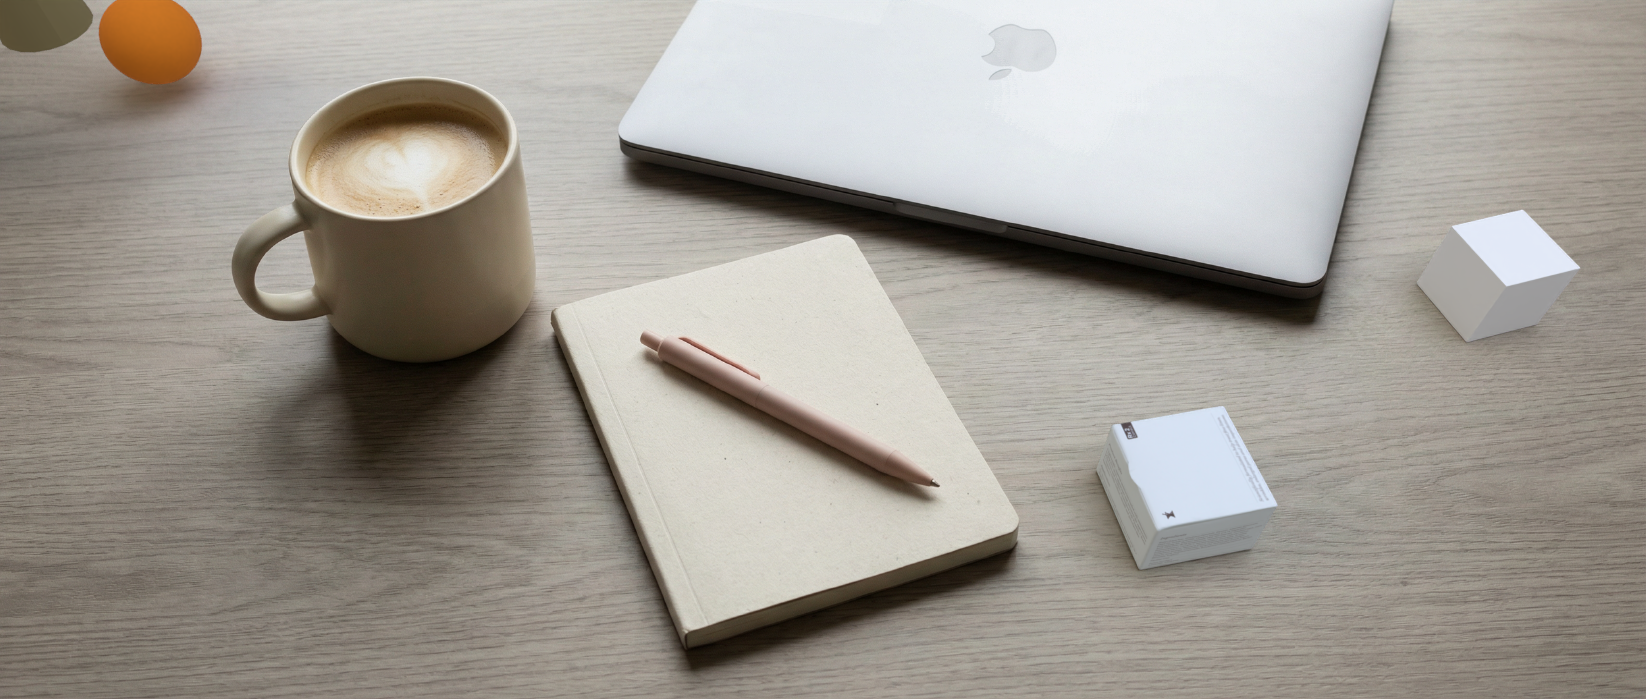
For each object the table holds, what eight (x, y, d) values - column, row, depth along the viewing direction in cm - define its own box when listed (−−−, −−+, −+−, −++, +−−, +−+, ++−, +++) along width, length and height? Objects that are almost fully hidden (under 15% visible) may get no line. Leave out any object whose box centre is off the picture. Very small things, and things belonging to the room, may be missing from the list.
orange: (106, 95, 97) (60, 20, 91) (159, 43, 102) (118, -31, 96) (184, 108, 96) (142, 33, 90) (233, 55, 101) (197, -19, 95)
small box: (1255, 550, 69) (1282, 507, 65) (1136, 573, 68) (1156, 531, 64) (1204, 448, 74) (1226, 402, 70) (1092, 467, 73) (1107, 422, 69)
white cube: (1466, 342, 80) (1506, 286, 75) (1415, 283, 84) (1450, 226, 79) (1537, 324, 81) (1581, 267, 76) (1484, 266, 85) (1523, 208, 80)
